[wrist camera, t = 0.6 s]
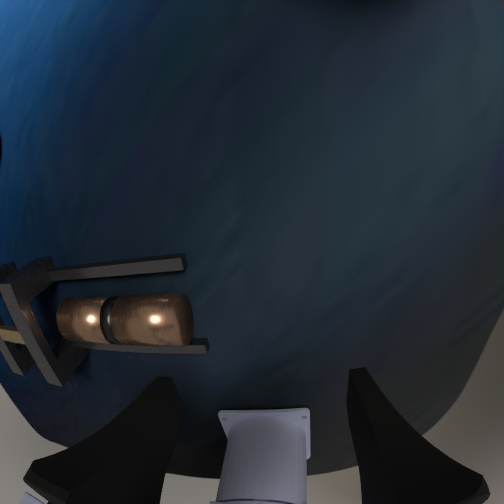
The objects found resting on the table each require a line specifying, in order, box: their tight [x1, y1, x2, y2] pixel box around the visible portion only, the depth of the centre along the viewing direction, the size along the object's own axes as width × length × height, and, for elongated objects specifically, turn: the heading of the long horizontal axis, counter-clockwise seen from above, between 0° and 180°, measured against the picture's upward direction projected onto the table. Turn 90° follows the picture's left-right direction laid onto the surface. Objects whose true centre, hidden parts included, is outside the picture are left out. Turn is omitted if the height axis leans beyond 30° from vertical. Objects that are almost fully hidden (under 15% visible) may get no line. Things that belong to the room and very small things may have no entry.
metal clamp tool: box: [0, 253, 209, 387], centre depth 18 cm, size 9×20×5 cm, turn 99°
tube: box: [56, 293, 193, 347], centre depth 19 cm, size 10×3×3 cm, turn 99°
